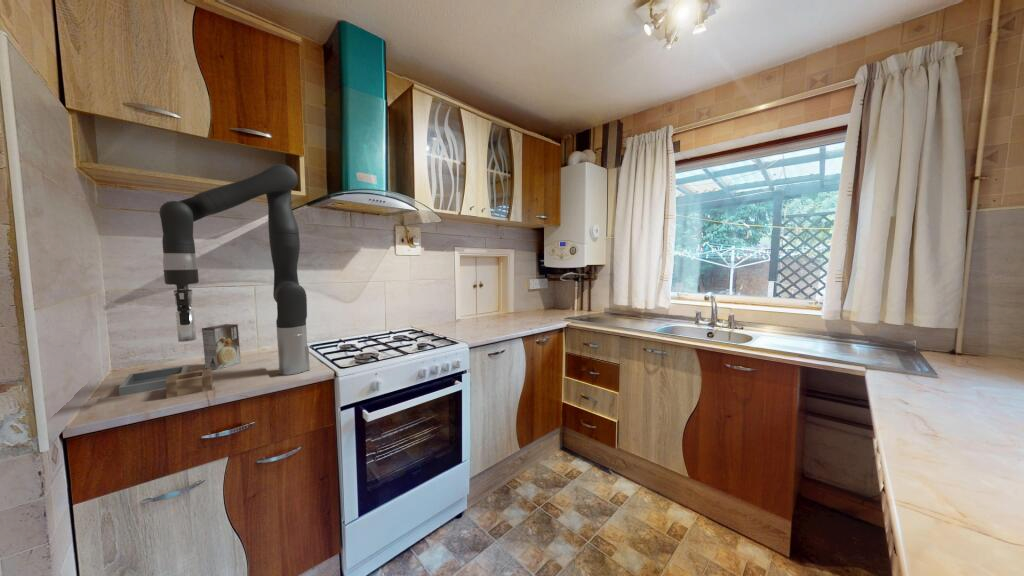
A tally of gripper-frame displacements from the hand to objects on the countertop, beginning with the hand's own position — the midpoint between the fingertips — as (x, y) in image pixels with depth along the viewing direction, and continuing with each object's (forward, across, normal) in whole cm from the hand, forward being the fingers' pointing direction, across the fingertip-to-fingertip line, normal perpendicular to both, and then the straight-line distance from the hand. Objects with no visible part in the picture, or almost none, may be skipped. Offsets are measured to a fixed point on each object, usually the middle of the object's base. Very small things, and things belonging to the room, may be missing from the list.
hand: (185, 323), depth 105 cm
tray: (+22, +16, +9) cm, 29 cm away
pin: (+5, 0, 0) cm, 5 cm away
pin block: (+22, 0, 0) cm, 22 cm away
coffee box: (+22, +30, -8) cm, 38 cm away
